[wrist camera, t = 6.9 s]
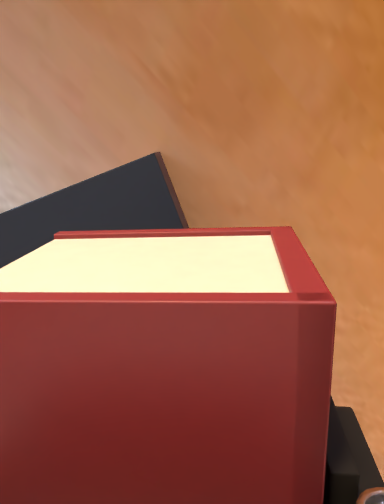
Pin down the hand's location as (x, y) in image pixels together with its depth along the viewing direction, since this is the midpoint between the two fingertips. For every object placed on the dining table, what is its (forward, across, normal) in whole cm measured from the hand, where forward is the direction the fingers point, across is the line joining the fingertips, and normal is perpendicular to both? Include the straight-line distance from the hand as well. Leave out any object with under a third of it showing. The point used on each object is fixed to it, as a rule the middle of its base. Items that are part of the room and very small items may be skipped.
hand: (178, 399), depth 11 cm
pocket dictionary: (+1, 0, 0) cm, 1 cm away
